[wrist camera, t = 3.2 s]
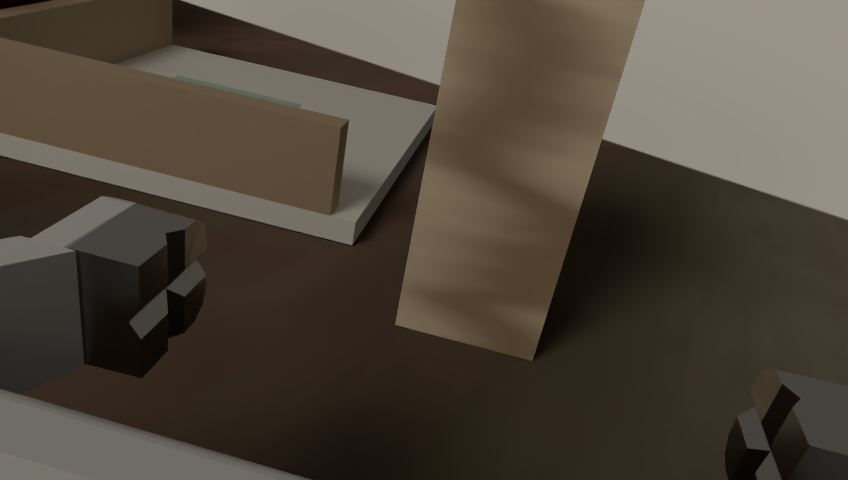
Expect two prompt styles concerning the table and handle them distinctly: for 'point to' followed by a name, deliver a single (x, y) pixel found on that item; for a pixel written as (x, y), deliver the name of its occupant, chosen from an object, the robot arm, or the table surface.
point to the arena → (196, 119)
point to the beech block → (510, 164)
